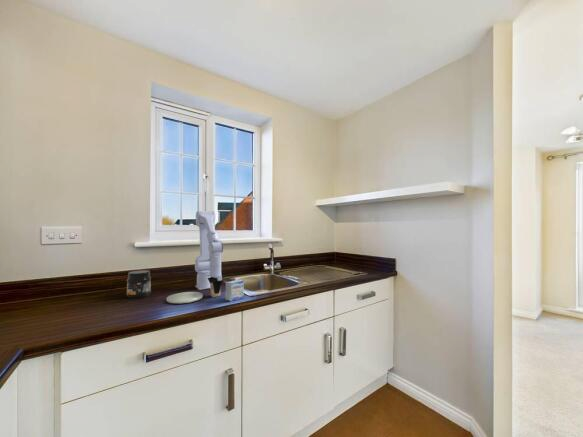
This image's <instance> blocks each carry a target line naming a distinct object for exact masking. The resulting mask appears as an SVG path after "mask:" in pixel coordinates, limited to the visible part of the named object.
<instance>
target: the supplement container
mask: <svg viewBox="0 0 583 437" xmlns="http://www.w3.org/2000/svg"><path fill="white" fill-rule="evenodd" d="M150 275H151V271H150V270H145V269H144V270H143V269H141V270H134V271H130V272H128V274H127V277H128V278H127V279H126V297H128V298H129V299H130V298H131V299H137V298H138V299H139V298H144V297H146V296H149V295H151V292H152V289H151V286H152V284H151V283H152V282H151V281H152V280H151V279H152V276H150Z"/></svg>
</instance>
